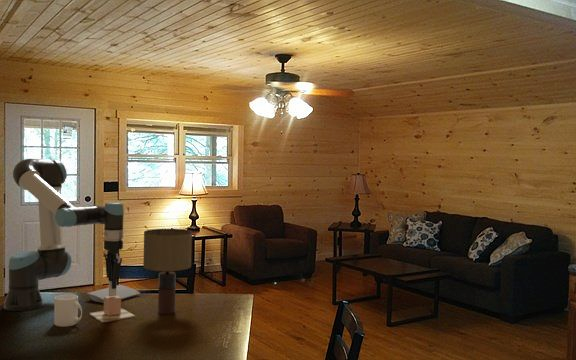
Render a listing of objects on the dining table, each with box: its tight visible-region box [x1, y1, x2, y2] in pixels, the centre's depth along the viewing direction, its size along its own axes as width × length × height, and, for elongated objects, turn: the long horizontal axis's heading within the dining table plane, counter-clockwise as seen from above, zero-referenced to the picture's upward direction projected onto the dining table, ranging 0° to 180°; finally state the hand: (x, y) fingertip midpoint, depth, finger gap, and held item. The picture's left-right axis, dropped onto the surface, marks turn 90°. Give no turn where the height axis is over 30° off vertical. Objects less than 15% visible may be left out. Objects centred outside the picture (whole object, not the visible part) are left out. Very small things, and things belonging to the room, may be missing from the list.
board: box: [89, 307, 136, 324], centre depth 225 cm, size 14×14×1 cm
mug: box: [53, 293, 83, 328], centre depth 212 cm, size 9×12×11 cm
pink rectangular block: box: [103, 295, 122, 316], centre depth 225 cm, size 5×5×7 cm
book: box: [86, 284, 141, 304], centre depth 254 cm, size 15×23×4 cm, turn 152°
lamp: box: [142, 228, 193, 315], centre depth 232 cm, size 20×20×35 cm
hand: (112, 295), depth 225 cm, fingers closed
